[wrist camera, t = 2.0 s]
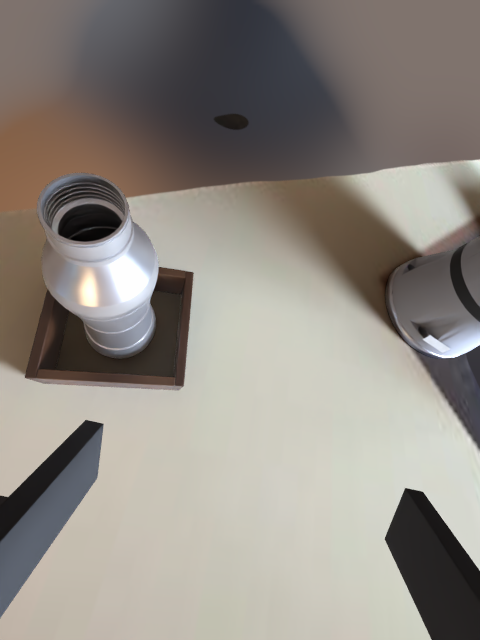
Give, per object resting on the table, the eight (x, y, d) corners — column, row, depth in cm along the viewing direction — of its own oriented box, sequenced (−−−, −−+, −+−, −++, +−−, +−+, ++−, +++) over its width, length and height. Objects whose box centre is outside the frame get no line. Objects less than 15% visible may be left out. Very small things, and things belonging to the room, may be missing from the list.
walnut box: (188, 289, 34) (193, 272, 30) (179, 390, 30) (183, 386, 26) (69, 272, 31) (57, 250, 27) (43, 383, 27) (24, 377, 23)
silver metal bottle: (79, 353, 29) (-45, 246, 11) (104, 293, 31) (40, 123, 13) (143, 370, 30) (132, 300, 12) (164, 311, 33) (180, 179, 14)
